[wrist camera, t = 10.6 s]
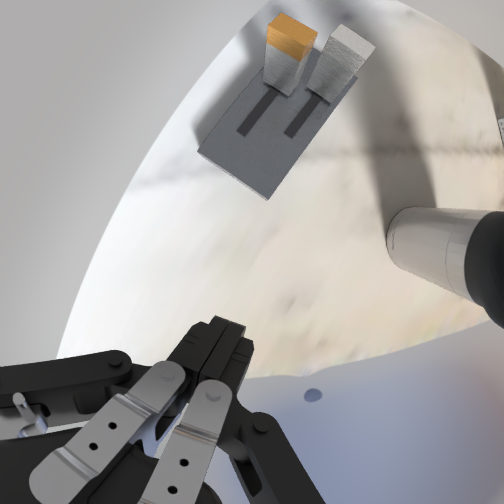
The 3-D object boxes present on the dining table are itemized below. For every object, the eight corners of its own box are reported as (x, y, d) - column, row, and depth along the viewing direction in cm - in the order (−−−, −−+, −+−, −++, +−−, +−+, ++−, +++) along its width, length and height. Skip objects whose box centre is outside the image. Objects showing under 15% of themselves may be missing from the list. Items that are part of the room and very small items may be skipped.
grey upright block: (315, 75, 30) (341, 23, 18) (339, 92, 30) (376, 47, 18) (306, 86, 30) (329, 35, 18) (331, 103, 31) (366, 59, 19)
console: (290, 48, 34) (294, 33, 29) (349, 87, 34) (359, 75, 30) (202, 156, 36) (196, 150, 32) (266, 200, 37) (268, 199, 33)
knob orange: (272, 69, 30) (281, 12, 18) (297, 85, 30) (317, 32, 18) (263, 80, 30) (267, 25, 18) (288, 96, 30) (305, 46, 19)
